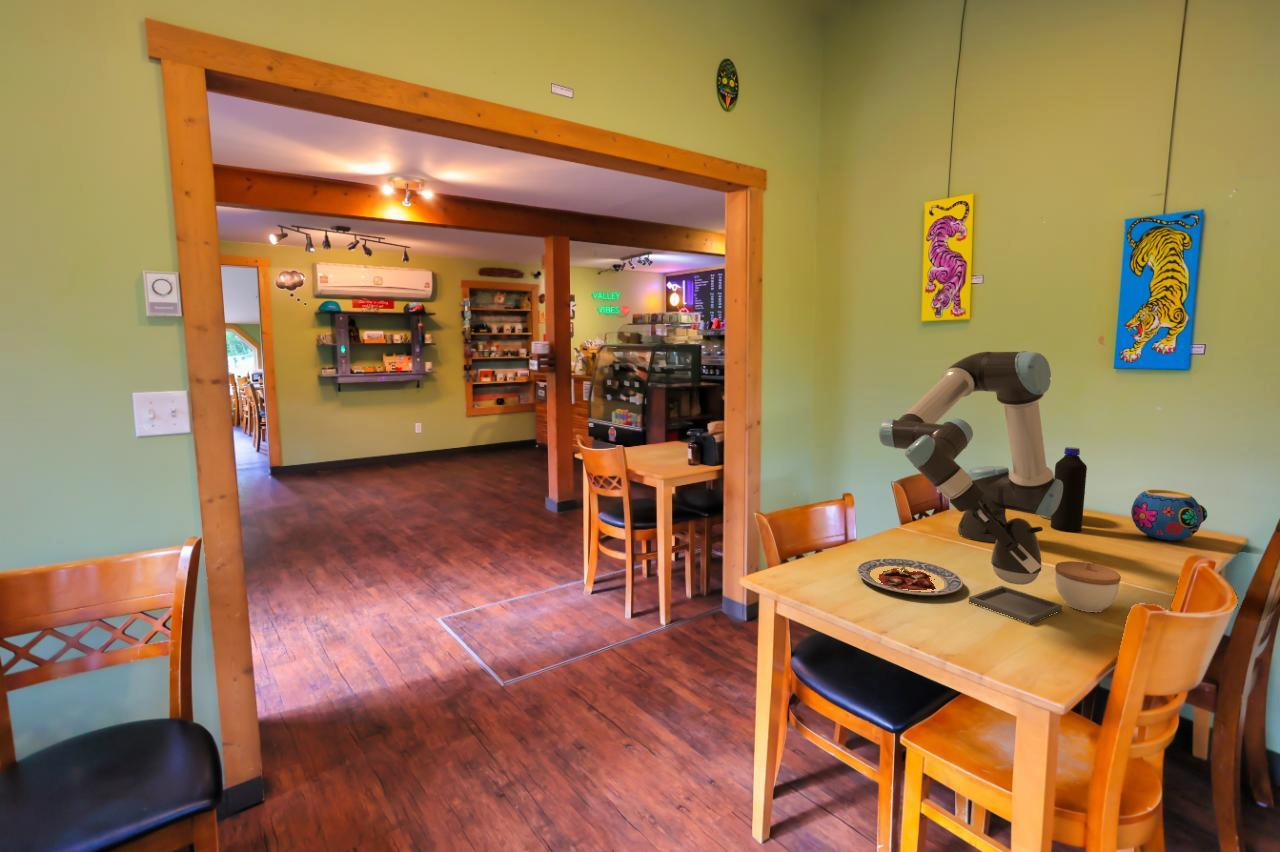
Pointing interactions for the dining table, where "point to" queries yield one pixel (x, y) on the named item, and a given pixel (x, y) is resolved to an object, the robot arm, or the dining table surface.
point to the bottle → (1070, 492)
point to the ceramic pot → (1167, 514)
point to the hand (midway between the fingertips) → (1032, 562)
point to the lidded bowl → (1086, 585)
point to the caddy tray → (1016, 604)
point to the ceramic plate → (910, 576)
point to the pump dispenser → (1006, 562)
